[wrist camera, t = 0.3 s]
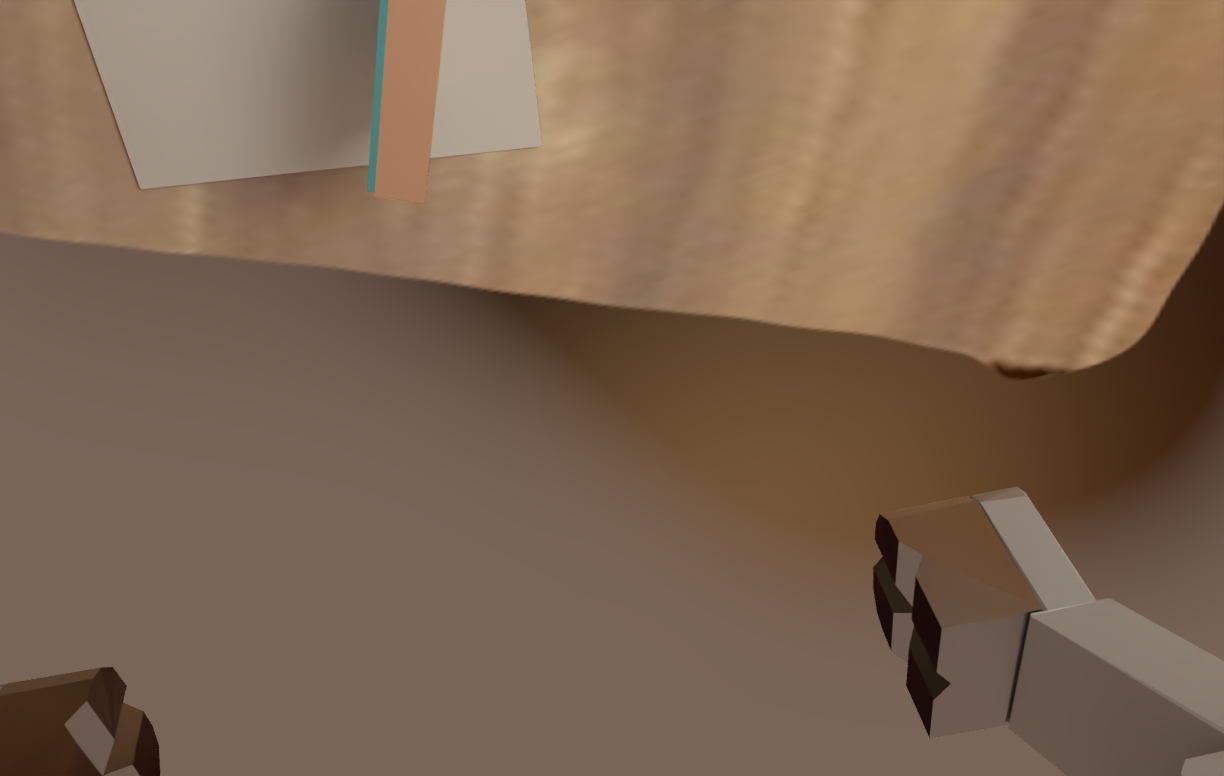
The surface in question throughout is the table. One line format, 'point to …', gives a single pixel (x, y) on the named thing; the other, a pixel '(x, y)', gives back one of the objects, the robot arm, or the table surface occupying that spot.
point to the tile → (405, 97)
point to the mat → (294, 83)
